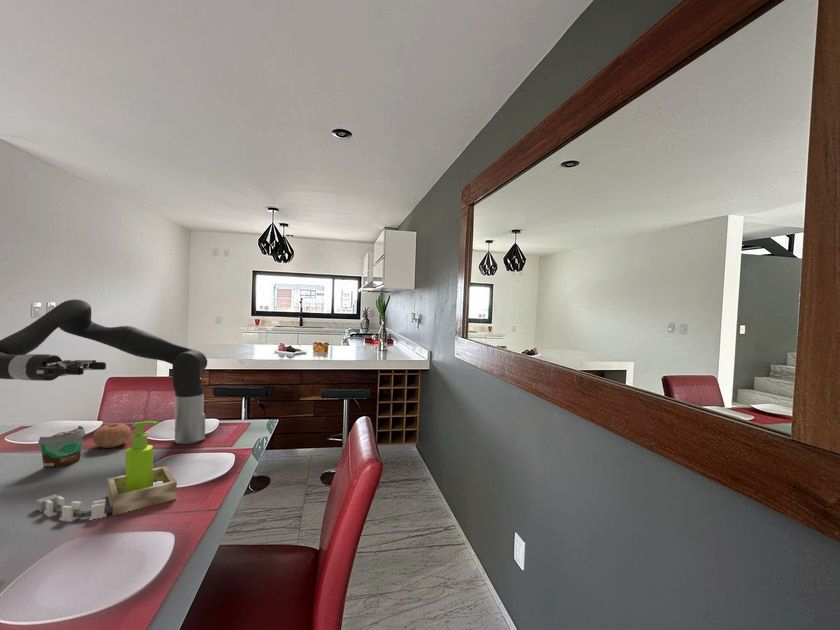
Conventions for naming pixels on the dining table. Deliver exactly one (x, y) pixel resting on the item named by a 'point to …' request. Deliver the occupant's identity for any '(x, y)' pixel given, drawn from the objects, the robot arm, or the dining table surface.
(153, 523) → the dining table surface
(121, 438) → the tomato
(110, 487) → the open square wooden frame
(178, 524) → the dining table surface
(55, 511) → the cable route
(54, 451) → the food container
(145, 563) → the dining table surface
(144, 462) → the soap dispenser
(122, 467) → the dining table surface
